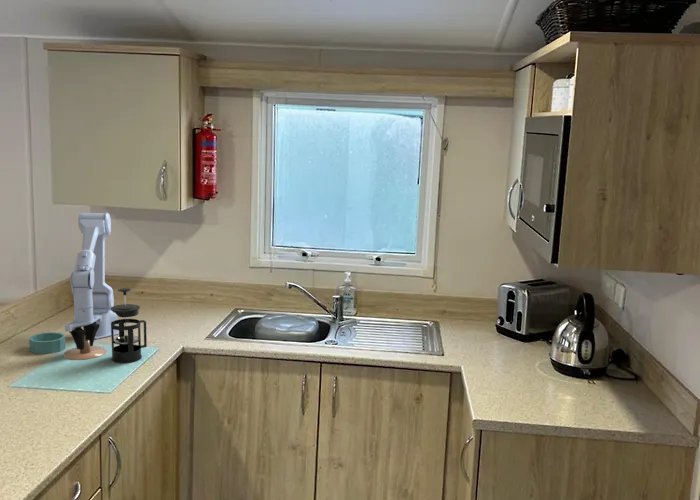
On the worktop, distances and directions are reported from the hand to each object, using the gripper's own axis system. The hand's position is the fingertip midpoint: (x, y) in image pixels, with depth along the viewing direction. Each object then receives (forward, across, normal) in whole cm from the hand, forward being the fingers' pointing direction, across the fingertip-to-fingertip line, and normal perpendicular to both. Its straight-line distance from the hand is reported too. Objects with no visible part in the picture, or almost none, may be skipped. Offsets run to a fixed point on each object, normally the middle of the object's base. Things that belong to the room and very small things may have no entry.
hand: (85, 347), depth 228 cm
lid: (+2, 0, 0) cm, 2 cm away
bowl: (+2, +2, -14) cm, 14 cm away
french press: (+2, -3, +15) cm, 16 cm away
